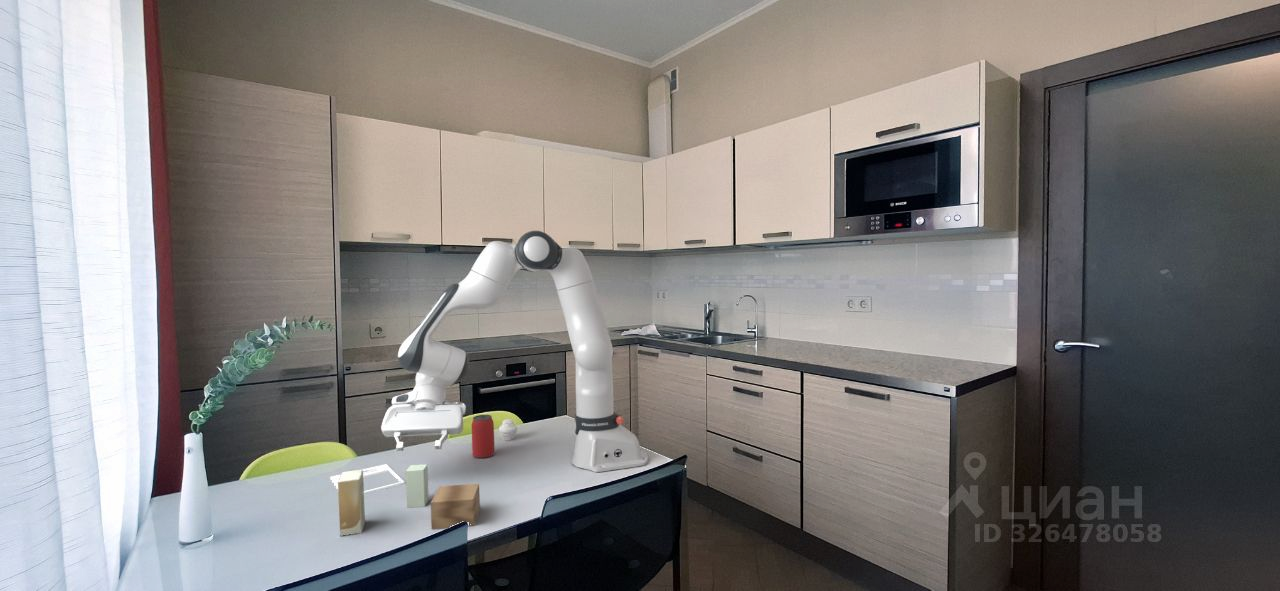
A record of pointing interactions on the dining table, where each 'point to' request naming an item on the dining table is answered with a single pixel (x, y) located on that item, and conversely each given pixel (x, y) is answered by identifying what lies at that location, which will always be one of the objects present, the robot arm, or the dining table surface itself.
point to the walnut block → (455, 505)
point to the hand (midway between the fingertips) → (418, 449)
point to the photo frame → (371, 472)
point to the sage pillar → (417, 486)
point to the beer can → (483, 436)
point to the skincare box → (351, 502)
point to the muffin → (508, 429)
